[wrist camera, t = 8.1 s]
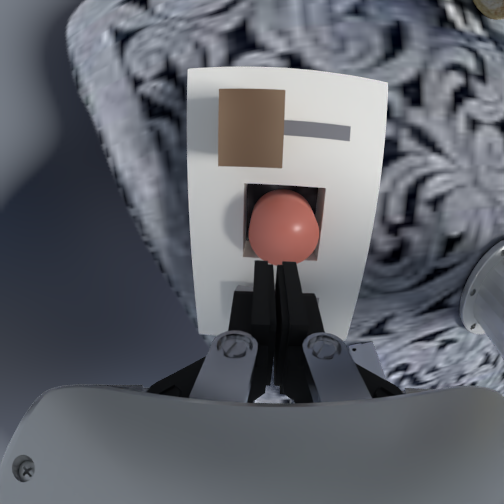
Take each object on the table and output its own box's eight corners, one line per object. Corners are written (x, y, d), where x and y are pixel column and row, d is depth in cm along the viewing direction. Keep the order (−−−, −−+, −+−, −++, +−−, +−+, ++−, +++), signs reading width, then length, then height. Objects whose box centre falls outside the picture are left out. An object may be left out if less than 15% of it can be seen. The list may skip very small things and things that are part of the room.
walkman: (370, 383, 31) (390, 465, 20) (348, 387, 31) (364, 472, 21) (373, 339, 28) (404, 434, 17) (348, 344, 28) (372, 443, 17)
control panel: (373, 86, 18) (393, 81, 14) (339, 319, 27) (347, 347, 23) (198, 75, 18) (183, 66, 15) (205, 313, 27) (196, 340, 24)
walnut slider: (282, 96, 16) (285, 89, 12) (279, 158, 18) (282, 168, 14) (229, 95, 16) (218, 88, 12) (228, 156, 18) (218, 166, 14)
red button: (315, 191, 20) (322, 203, 17) (309, 248, 22) (314, 267, 19) (252, 187, 20) (249, 198, 17) (250, 245, 22) (247, 264, 19)
